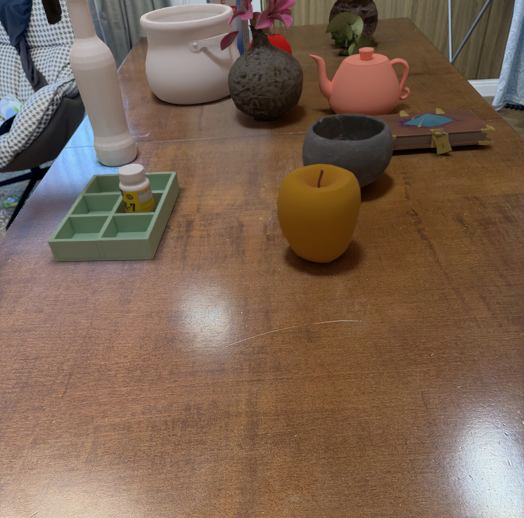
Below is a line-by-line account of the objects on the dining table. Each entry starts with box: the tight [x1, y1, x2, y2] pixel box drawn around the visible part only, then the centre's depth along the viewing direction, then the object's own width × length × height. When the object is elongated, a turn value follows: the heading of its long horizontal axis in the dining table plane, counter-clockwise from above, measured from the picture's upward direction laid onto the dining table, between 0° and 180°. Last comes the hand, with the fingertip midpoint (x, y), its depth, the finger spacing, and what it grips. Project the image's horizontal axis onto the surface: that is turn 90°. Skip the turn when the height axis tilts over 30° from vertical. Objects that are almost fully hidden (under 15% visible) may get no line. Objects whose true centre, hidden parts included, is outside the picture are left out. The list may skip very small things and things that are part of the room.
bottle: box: [64, 0, 138, 167], centre depth 93 cm, size 8×8×30 cm
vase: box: [220, 0, 304, 124], centre depth 104 cm, size 17×18×30 cm
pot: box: [139, 3, 240, 105], centre depth 125 cm, size 26×24×18 cm
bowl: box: [301, 114, 394, 189], centre depth 85 cm, size 15×15×10 cm
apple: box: [276, 164, 362, 264], centre depth 68 cm, size 11×11×13 cm
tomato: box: [249, 31, 293, 56], centre depth 135 cm, size 11×13×10 cm
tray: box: [47, 171, 181, 262], centre depth 82 cm, size 15×22×4 cm
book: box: [373, 107, 496, 156], centre depth 98 cm, size 16×25×5 cm, turn 90°
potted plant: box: [325, 0, 379, 57], centre depth 144 cm, size 16×15×35 cm
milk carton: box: [205, 0, 251, 56], centre depth 146 cm, size 10×6×20 cm, turn 73°
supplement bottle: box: [117, 163, 156, 213], centre depth 80 cm, size 5×5×8 cm
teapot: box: [308, 47, 411, 116], centre depth 109 cm, size 22×16×12 cm
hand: (21, 24), depth 68 cm, fingers open, 9 cm apart
